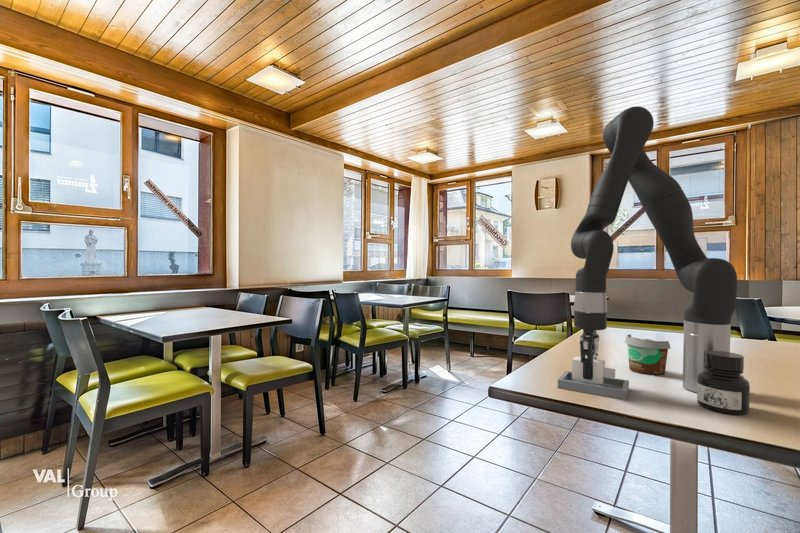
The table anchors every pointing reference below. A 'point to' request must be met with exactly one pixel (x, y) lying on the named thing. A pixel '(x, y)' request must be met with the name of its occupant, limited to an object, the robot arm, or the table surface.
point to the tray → (596, 386)
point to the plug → (598, 371)
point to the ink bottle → (723, 383)
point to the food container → (647, 355)
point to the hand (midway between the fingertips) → (589, 376)
